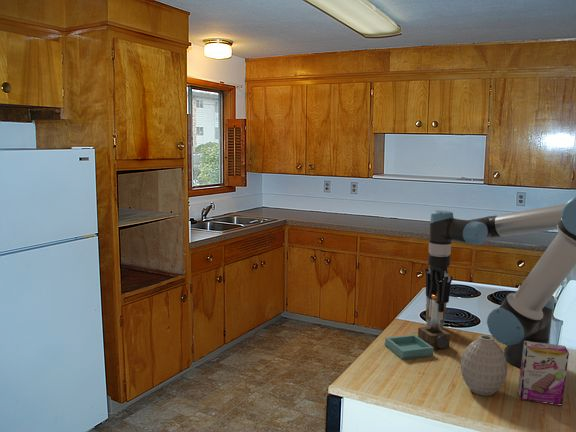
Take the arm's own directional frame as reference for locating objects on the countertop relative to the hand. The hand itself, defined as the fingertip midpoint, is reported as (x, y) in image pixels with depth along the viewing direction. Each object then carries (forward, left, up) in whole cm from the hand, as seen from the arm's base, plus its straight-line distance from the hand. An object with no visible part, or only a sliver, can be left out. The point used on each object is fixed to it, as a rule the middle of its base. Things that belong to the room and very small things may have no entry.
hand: (435, 318), depth 183 cm
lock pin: (0, 0, -7) cm, 7 cm away
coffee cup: (+14, -10, -10) cm, 20 cm away
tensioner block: (0, 0, -10) cm, 10 cm away
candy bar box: (-43, -7, -10) cm, 44 cm away
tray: (-3, +12, -10) cm, 16 cm away
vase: (-34, +6, -10) cm, 36 cm away
